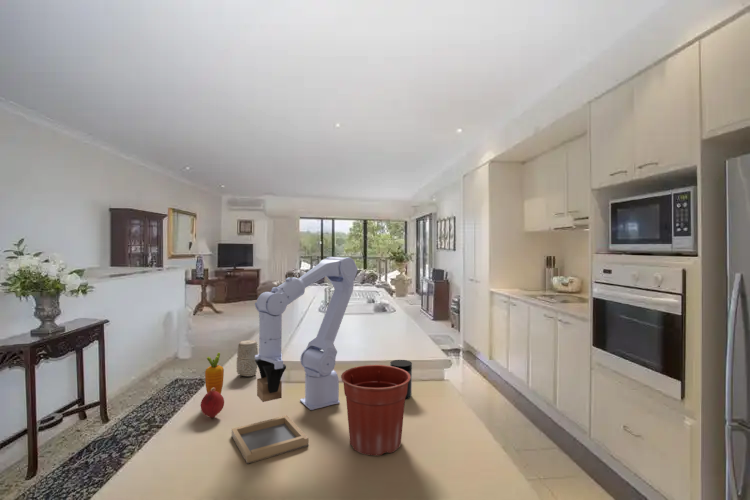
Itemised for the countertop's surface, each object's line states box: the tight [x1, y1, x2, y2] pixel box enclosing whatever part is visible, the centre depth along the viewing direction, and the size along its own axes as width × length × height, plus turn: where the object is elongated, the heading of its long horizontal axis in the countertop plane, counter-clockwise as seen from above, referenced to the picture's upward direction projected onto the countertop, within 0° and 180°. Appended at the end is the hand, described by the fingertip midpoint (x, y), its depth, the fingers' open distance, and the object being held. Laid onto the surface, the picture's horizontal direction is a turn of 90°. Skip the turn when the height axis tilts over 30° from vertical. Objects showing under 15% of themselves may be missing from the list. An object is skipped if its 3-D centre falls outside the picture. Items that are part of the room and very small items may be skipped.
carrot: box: [204, 352, 225, 395], centre depth 111 cm, size 5×5×15 cm
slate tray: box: [231, 414, 309, 465], centre depth 91 cm, size 14×14×2 cm
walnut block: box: [256, 377, 283, 403], centre depth 102 cm, size 5×5×4 cm
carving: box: [236, 339, 259, 377], centre depth 137 cm, size 6×8×12 cm
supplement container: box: [389, 359, 413, 401], centre depth 119 cm, size 7×7×10 cm
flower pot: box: [340, 364, 411, 456], centre depth 91 cm, size 16×16×16 cm
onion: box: [200, 388, 225, 419], centre depth 103 cm, size 6×6×8 cm
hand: (270, 388), depth 102 cm, fingers closed on walnut block, 5 cm apart
